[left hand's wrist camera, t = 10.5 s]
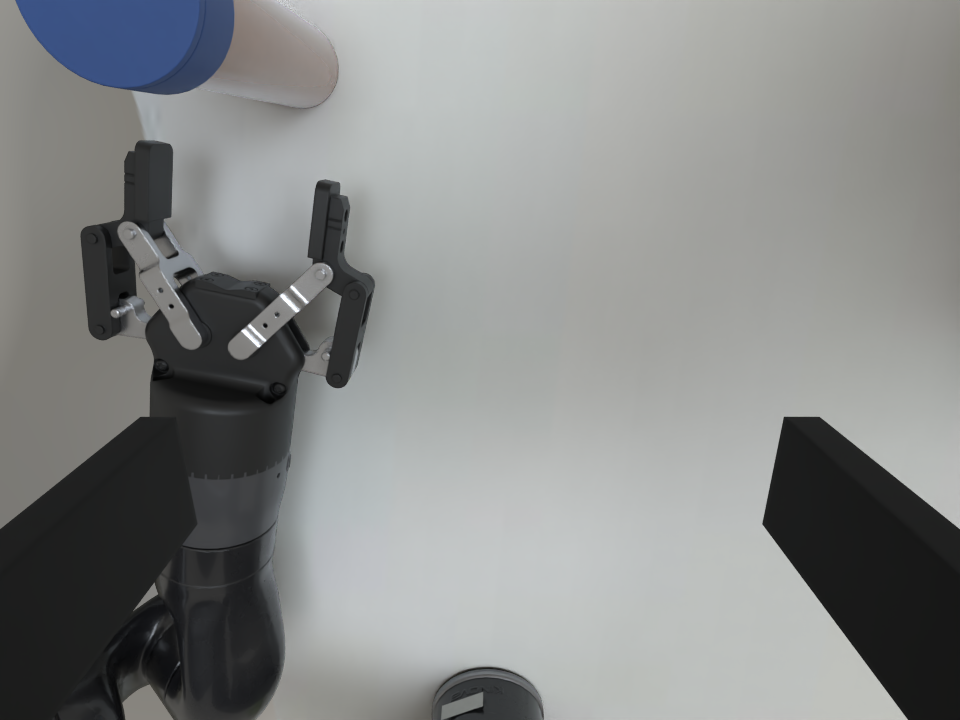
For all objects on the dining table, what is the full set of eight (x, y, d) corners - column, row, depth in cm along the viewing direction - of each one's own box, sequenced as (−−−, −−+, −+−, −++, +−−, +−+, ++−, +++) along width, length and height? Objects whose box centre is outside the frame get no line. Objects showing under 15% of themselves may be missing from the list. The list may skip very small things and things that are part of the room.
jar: (291, 1, 32) (84, -150, 15) (354, 64, 33) (223, -17, 16) (243, 67, 33) (4, -9, 16) (306, 125, 34) (139, 108, 17)
